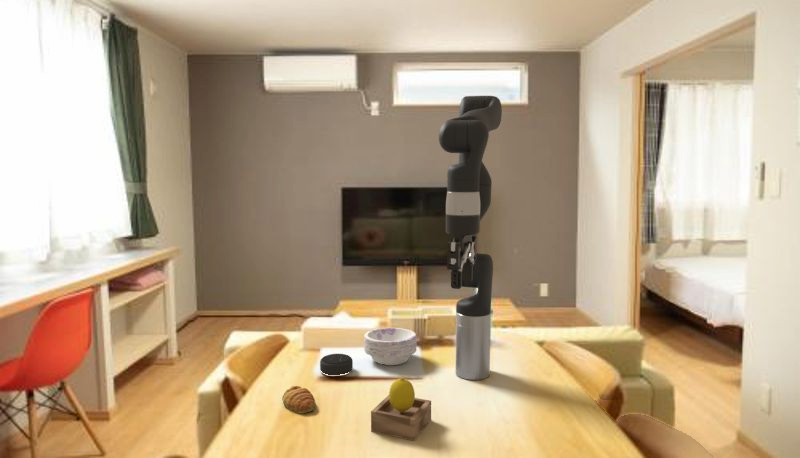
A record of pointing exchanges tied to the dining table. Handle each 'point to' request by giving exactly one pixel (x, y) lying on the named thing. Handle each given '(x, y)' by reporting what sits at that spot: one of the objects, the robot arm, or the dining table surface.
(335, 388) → the dining table surface
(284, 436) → the dining table surface
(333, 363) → the smart speaker
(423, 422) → the open wooden tray
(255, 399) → the dining table surface
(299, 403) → the pastry
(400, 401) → the lemon
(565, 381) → the dining table surface
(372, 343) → the paper bowls
